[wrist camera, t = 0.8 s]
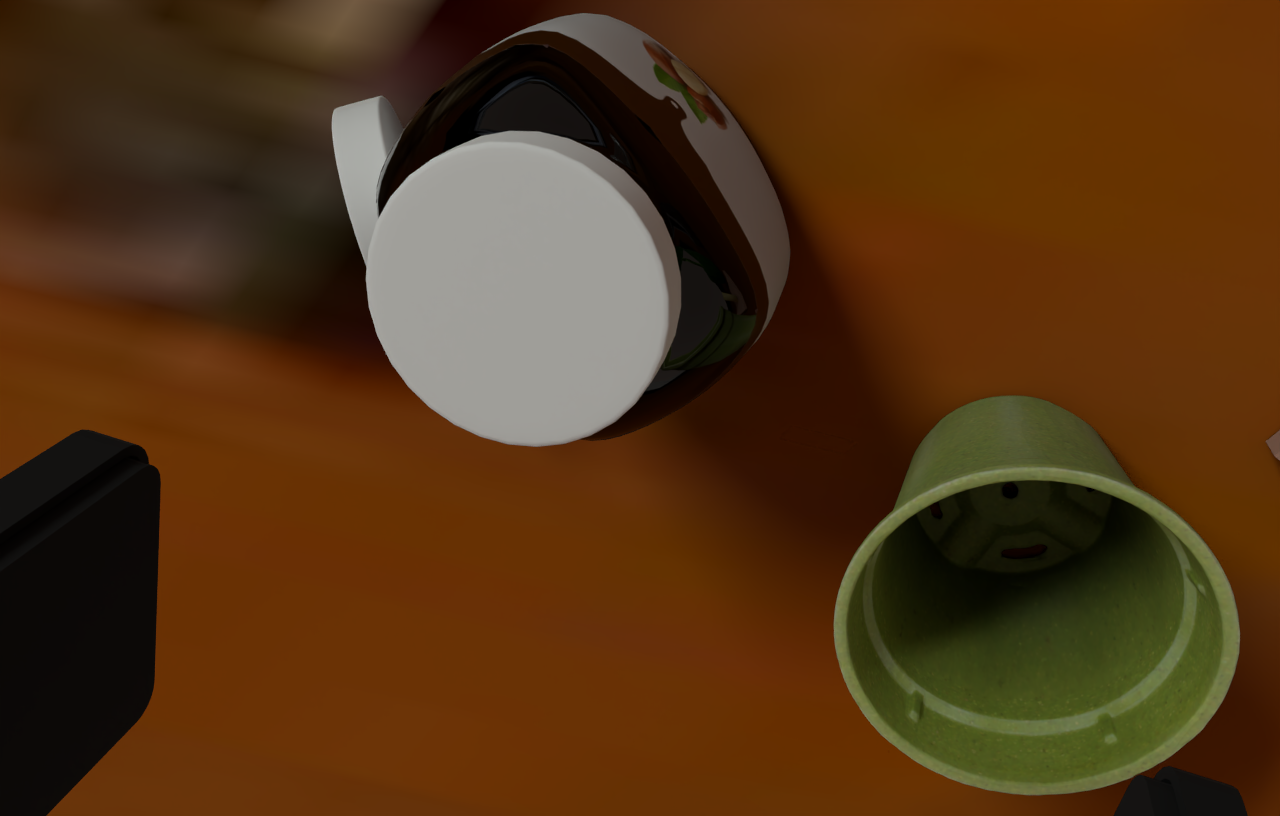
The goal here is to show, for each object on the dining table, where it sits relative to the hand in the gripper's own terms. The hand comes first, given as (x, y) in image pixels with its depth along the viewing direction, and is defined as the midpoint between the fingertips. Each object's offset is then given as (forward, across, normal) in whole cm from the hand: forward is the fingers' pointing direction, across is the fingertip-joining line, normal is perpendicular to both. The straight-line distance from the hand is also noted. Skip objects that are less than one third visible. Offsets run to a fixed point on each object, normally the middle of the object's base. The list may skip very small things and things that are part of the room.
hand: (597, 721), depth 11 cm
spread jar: (+26, +7, +3) cm, 27 cm away
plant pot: (+26, -8, +8) cm, 29 cm away
